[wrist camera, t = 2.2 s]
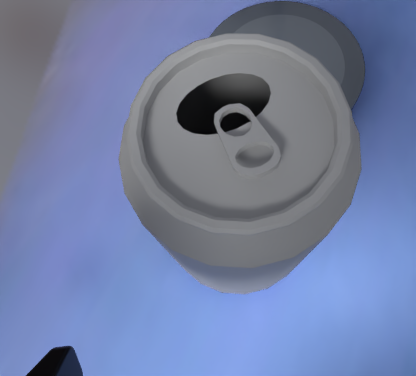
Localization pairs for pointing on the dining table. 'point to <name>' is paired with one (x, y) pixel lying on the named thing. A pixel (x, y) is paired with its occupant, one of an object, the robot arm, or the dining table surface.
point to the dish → (306, 38)
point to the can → (240, 158)
